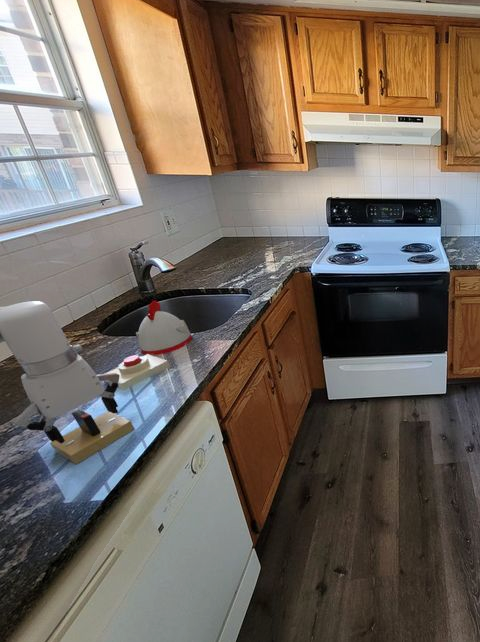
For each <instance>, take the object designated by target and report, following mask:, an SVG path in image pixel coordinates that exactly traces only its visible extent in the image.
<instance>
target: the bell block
mask: <svg viewBox="0 0 480 642" xmlns="http://www.w3.org/2000/svg"><path fill="white" fill-rule="evenodd" d="M139 357H140V360H141V362H140V363H139V364H136V365H134V366H130V367H126V366H125V364H124V362H123V361H122V362H121V363H120V364H118V367H116V368H114V369H112V370H110V371H108V372H105V373H104V374H109V373H116V374H119V375H120V376H119V382H118V388H117V389H121V390H124V391H126V390H127V389H130V388H131V387H133V386H135V385H137V384H140V383H141V382H143V381H145V380H147V379H149V378H151V377H153V376H155V375H156V374H159V373H160V372H163V371H164V370H167V369H168V368H170V367H171V365H170V363H169V360H166V359H164V358H161V357H158V356H156V355H150V354H146V355H145V354H143V355H142V356H140V355H139ZM104 383H107V384H109V383H110V382H109V380H105V381H104Z"/></svg>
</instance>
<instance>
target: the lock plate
mask: <svg viewBox="0 0 480 642" xmlns="http://www.w3.org/2000/svg"><path fill="white" fill-rule="evenodd" d="M93 420H94V421H95V423H96V425H97V426H98V428H99V430H100V432H101V433H99V434H97V435H96V436H94V437H93V436H91V435H90V434H88V433H86V432H84V431H82V430H81V428H80V426H78V427H76V428H74V429H73V430H71V431H69V432H67V433H65V434H64V435H62V436H63V438H64V440H65V441H64V442H63V443H59V442H58V441H56V440H55V441H53V442H52V441H50V442H49V444H50V446H51V447H52V449H53V450H54V452H55V453H57V454H59V455H61V456H62V457H64V458H65V459H67V460H69V461H70V462H72V463H74V464H75V465H77V464H79V463H81V462H83V461H84V460H86V459H87V458H89V457H91V456H93V455H94V454H96V453H98V452H99V451H101V450H102V449H105V448H106V447H107V446H109V445H111V444H113V443H114V442H115V441H117V440H119V439H121V438H122V437H125V436H126V435H128V434H129V433H131V432H132V431H134V430H135V427H134V425H133V423H132V421H131V420H129V419H127V418H125V417H123V416H121V415H119V414H118V413H116V414H113V413H111V412H109V411H108V410H107V411H106V412H104V413H103V414H101V415H99V416H96V417H95V418H93Z"/></svg>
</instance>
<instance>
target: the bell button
mask: <svg viewBox="0 0 480 642" xmlns="http://www.w3.org/2000/svg"><path fill="white" fill-rule="evenodd" d="M122 362H124V364H125V366H126V367H130V366H134V365H136V364H139V363H140V362H141V360H140V355H138V354H134V355H130V356H127V357H125V358H124V359H123V360H122Z"/></svg>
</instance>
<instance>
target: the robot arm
mask: <svg viewBox="0 0 480 642" xmlns="http://www.w3.org/2000/svg"><path fill="white" fill-rule="evenodd" d="M3 342H5V344H6V345H7V347H8V349H9V350H10V351H11V353H12V355H13V356H14V358H15V359H16V361H17V362H18V364H19V366H20V367H21V369H22V370H23V372H24V373H23V374H22V375H21V376H20V379H21V384H22V386H23V389H24V392H25V394H26V395H27V398H28V400H29V402H30V404H29V405H28V406H27V407H26V408H25V409H24V410H23V411H22V412H21V413H20V414H18V416H16V418H15V419H13V421H12V424H14V425H16V426H18V427H21V428H23V429H27V430H30V431H43V432H44V434H45V435H46V437H47V438H48V439H49V441H50V442H53V441H55V440H56V441H58V442H59V443H63V442H64V441H65V440H64V438H63V436H64V435H62V433H61V432H60V430H59V428H58V427H57V426H55V425H54V424H55V422H56V420H57V418H58V417H61V416H63V415H65V414H67V413H69V412H72V411H73V410H75V409H77V408H79V407H81V406H83V405H85V404H87V403H89V402H91V401H93V400H95V399H97V398H99V397H100V400H101V401H102V403H103V405H104V407H105V408H106V411H107V412H108V411H109V412H111V413H113V414H118V413H119V411H118V409H117V408H118V407H119V405H118V402H117V401H116V399H115V396H116V392H117V390H118V389H119V388H118V382H119V376H120V375H119V374H116V373H109V374H105V373H98V374H96V372H95V371H94V370H93V369H92V367H91V366H90V364H89V363H88V362H87V361H86V360H85V359H84V358H83V357H82V356H80V354H78V352H79V351H81V350H83V349H84V348H83V346H82V345H81V344H80V343H77V344H73V345H72V344H70V341H69V340H68V338H67V336H66V335H65V333H64V330H63V329H62V327H61V326H60V323H59V321H58V320H57V318H56V316H55V314H54V313H53V311H52V309H51V308H50V306H49V305H48V304H47V303H45V302H44V301H37V300H32V301H22V302H18V303H14V304H10V305H7V306H0V344H1V343H3ZM105 380H109V382H110V383H107V386H106V387H104V385H103V382H105ZM35 414H38V415H39V416H40V418H39V421H31V420H30V419H31V418H32V417H33V416H34V415H35Z"/></svg>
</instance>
